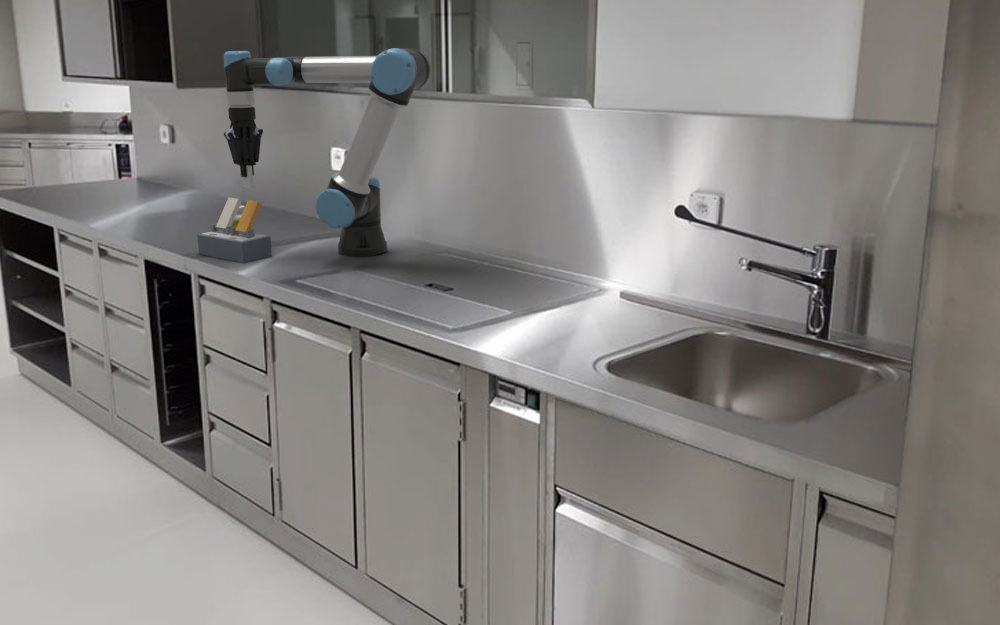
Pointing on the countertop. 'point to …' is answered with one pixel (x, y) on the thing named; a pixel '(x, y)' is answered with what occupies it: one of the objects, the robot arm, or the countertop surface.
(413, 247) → the countertop surface
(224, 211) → the ivory lever
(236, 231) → the orange lever
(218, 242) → the breaker panel
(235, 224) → the pill bottle
